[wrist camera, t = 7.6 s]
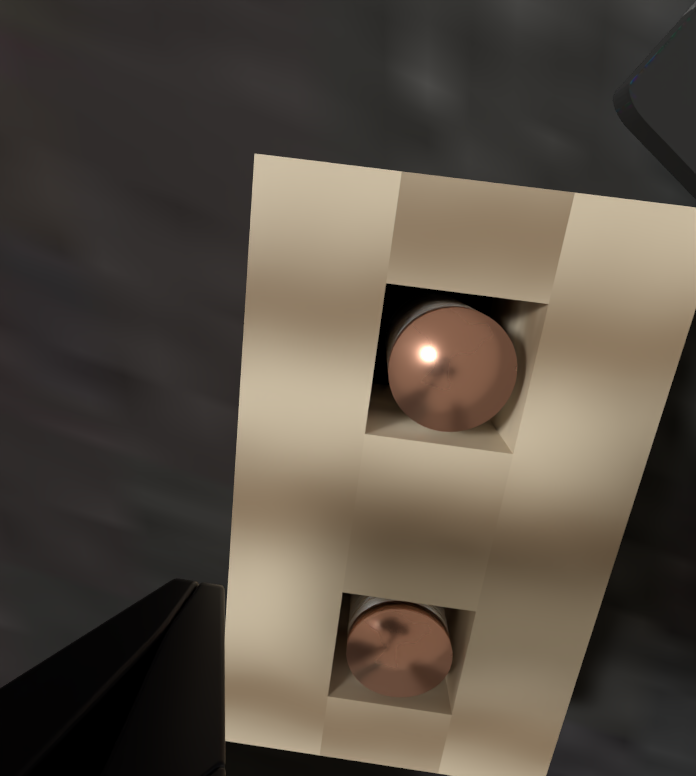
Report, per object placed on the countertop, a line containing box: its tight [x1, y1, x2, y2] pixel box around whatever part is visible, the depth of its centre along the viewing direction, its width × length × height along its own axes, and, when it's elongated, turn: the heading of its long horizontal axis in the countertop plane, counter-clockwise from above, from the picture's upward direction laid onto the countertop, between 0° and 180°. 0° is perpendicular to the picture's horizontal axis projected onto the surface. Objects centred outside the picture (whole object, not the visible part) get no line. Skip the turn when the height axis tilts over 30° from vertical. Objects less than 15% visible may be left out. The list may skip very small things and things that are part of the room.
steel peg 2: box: [346, 594, 453, 697], centre depth 19 cm, size 4×4×6 cm
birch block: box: [225, 154, 696, 776], centre depth 18 cm, size 20×12×6 cm, turn 173°
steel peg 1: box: [385, 293, 517, 432], centre depth 16 cm, size 4×4×6 cm
